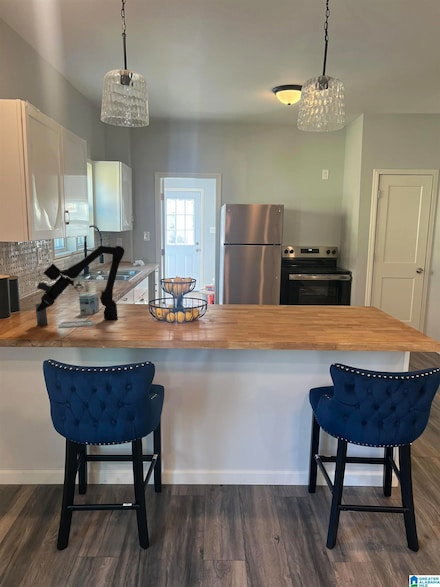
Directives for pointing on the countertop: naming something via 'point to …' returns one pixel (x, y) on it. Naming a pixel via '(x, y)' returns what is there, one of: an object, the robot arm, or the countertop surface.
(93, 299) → the light bulb box
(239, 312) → the countertop surface
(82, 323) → the label plate
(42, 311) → the post
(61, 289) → the robot arm
